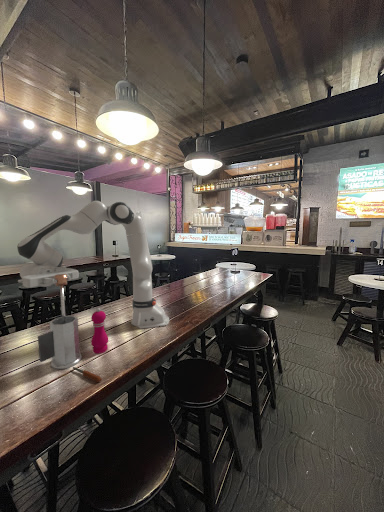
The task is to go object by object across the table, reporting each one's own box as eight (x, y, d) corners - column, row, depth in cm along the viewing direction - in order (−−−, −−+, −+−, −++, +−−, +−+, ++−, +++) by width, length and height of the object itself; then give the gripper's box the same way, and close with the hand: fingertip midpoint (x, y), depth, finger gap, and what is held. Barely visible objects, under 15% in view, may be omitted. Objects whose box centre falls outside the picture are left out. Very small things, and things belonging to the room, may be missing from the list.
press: (85, 353, 96) (83, 314, 94) (70, 373, 83) (67, 328, 80) (59, 354, 95) (56, 315, 93) (39, 374, 82) (35, 329, 80)
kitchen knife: (102, 381, 79) (101, 376, 78) (98, 384, 77) (98, 379, 77) (74, 369, 86) (73, 364, 85) (71, 371, 84) (70, 366, 84)
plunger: (75, 333, 92) (72, 273, 89) (68, 340, 86) (64, 276, 83) (61, 333, 92) (57, 273, 89) (53, 340, 86) (48, 276, 83)
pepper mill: (95, 346, 102) (93, 305, 100) (110, 345, 103) (108, 305, 100) (89, 354, 95) (86, 311, 93) (105, 354, 96) (104, 310, 93)
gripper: (15, 273, 84) (31, 277, 77) (67, 265, 101) (85, 268, 94) (16, 288, 84) (33, 294, 77) (68, 278, 102) (86, 282, 95)
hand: (62, 280), depth 86 cm, fingers closed on plunger, 4 cm apart
